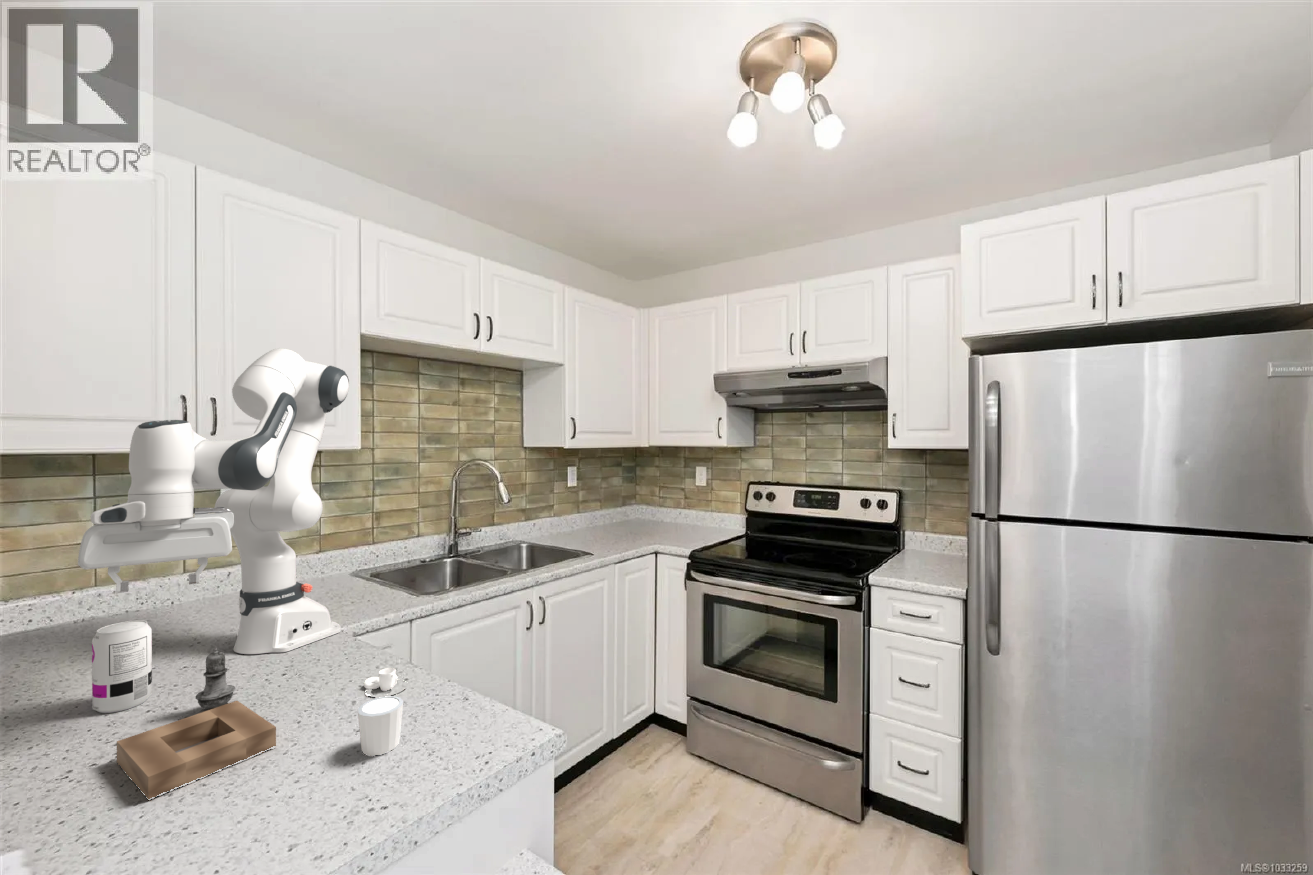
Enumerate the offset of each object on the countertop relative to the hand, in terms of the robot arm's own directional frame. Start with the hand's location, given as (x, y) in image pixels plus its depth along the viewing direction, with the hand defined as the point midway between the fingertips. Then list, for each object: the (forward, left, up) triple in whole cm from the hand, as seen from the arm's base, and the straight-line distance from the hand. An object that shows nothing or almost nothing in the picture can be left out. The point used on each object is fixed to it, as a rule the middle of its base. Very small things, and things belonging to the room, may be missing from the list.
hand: (159, 587), depth 97 cm
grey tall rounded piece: (-8, +1, -25) cm, 26 cm away
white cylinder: (-19, +38, -25) cm, 50 cm away
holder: (-1, +16, -25) cm, 30 cm away
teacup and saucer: (-33, +17, -26) cm, 45 cm away
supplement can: (+1, -17, -25) cm, 30 cm away
